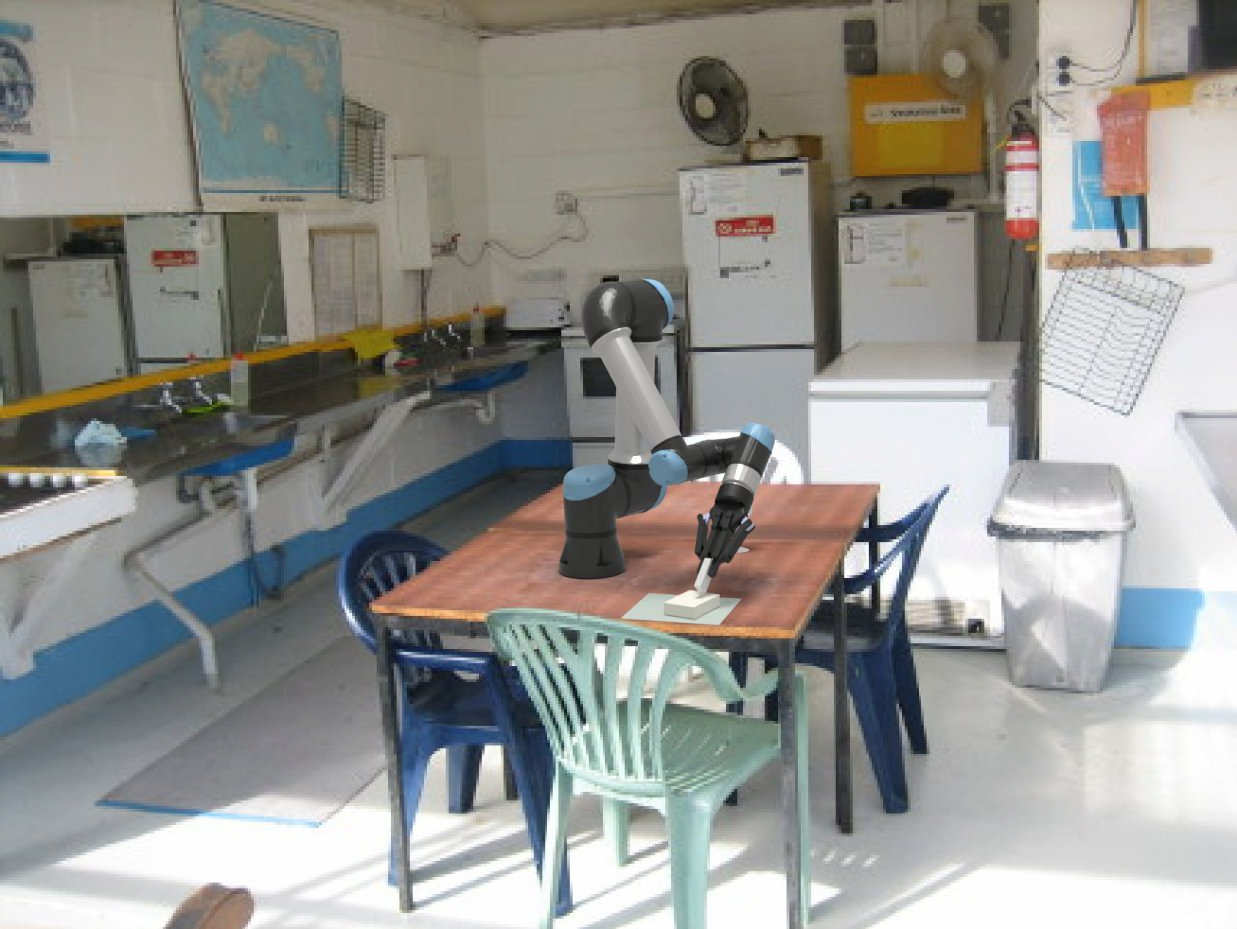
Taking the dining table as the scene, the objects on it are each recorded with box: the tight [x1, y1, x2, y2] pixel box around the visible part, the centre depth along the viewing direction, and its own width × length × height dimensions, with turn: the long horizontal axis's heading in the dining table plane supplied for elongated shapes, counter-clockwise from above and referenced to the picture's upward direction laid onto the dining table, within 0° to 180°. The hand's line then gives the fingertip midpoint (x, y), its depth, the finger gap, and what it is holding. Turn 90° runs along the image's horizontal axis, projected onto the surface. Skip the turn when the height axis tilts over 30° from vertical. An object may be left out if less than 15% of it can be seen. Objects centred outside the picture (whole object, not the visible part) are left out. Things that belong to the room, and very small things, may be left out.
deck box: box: [664, 589, 721, 619], centre depth 265 cm, size 2×7×10 cm
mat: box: [620, 592, 742, 626], centre depth 267 cm, size 20×18×1 cm
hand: (699, 589), depth 266 cm, fingers closed
